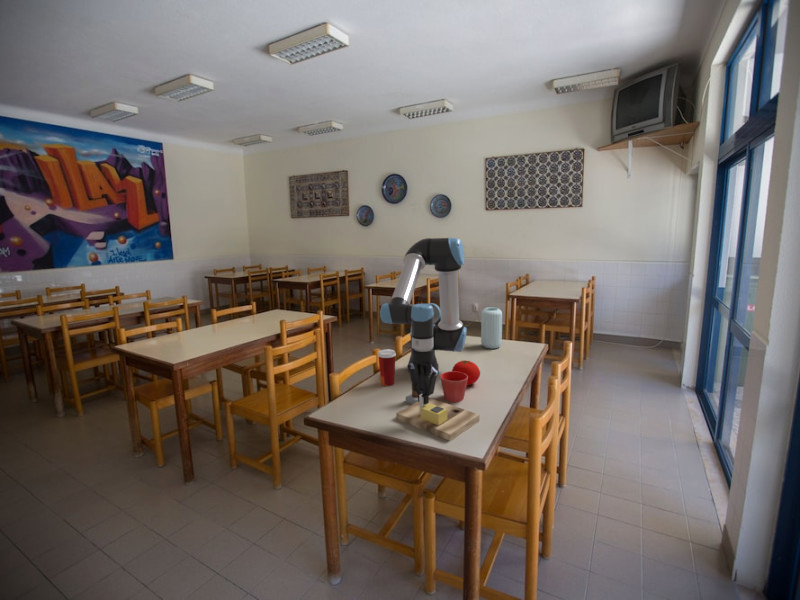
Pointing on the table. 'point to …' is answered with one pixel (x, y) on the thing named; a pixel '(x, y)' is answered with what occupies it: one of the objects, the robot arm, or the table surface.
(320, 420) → the table surface
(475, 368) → the tomato
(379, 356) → the coffee cup
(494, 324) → the vase
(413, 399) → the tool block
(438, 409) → the block
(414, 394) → the brown rounded cylinder
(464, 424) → the subfloor panel
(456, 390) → the flower pot
